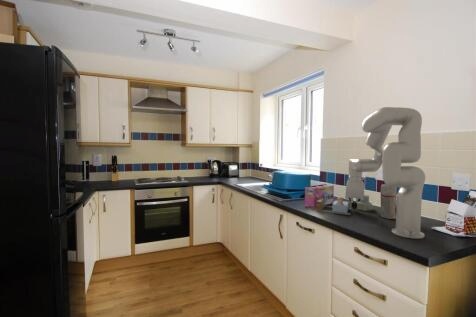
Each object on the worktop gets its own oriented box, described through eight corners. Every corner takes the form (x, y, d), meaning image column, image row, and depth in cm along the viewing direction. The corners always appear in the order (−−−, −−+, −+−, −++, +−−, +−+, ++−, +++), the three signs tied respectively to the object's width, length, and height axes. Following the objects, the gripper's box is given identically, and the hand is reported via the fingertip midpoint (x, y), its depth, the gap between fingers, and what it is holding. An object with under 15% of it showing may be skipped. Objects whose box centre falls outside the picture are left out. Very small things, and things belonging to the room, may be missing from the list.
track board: (350, 216, 147) (350, 213, 147) (316, 212, 155) (316, 209, 155) (351, 211, 160) (351, 208, 160) (320, 207, 169) (320, 204, 169)
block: (346, 214, 149) (346, 205, 149) (332, 212, 153) (332, 204, 152) (348, 209, 160) (348, 201, 159) (334, 208, 163) (334, 200, 163)
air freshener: (375, 211, 160) (375, 195, 160) (369, 213, 155) (369, 197, 155) (358, 208, 169) (358, 193, 168) (351, 210, 164) (352, 194, 163)
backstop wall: (320, 211, 154) (320, 201, 154) (316, 211, 155) (316, 201, 155) (324, 206, 168) (324, 197, 167) (320, 206, 169) (320, 197, 168)
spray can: (392, 220, 141) (393, 184, 140) (377, 216, 147) (378, 182, 147) (399, 218, 145) (400, 183, 144) (384, 214, 152) (385, 181, 151)
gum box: (325, 202, 187) (325, 183, 186) (335, 204, 180) (335, 185, 180) (304, 206, 172) (304, 186, 172) (314, 208, 166) (314, 188, 165)
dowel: (342, 213, 151) (342, 198, 151) (336, 212, 153) (337, 197, 152) (343, 212, 154) (343, 197, 153) (337, 211, 155) (338, 196, 155)
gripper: (368, 179, 155) (368, 209, 156) (342, 177, 162) (341, 206, 163) (368, 180, 148) (367, 211, 149) (341, 178, 155) (340, 208, 156)
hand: (354, 208), depth 156 cm, fingers closed
